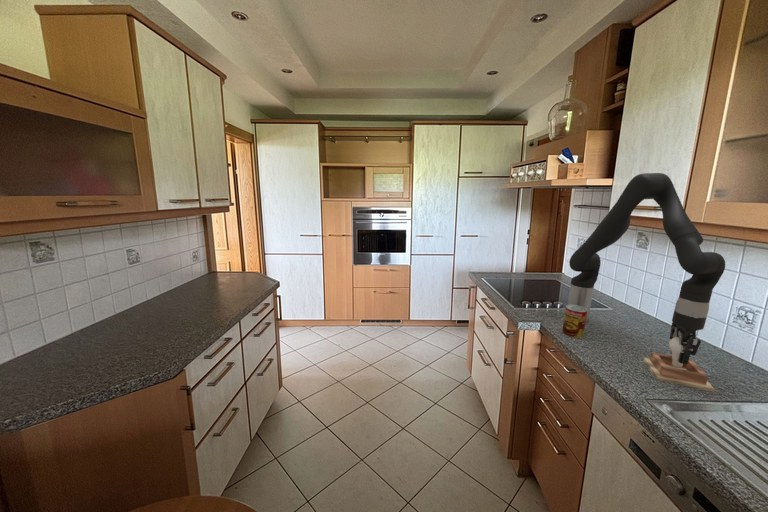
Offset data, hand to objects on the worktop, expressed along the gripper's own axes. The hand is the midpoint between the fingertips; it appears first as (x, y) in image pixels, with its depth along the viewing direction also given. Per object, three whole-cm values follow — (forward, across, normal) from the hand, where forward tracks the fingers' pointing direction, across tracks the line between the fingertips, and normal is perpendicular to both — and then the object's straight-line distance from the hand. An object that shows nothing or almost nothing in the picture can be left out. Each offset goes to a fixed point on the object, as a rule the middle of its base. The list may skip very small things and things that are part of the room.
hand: (678, 358), depth 102 cm
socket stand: (+6, 0, 0) cm, 6 cm away
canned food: (+6, -19, -28) cm, 34 cm away
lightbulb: (+4, 0, 0) cm, 4 cm away
